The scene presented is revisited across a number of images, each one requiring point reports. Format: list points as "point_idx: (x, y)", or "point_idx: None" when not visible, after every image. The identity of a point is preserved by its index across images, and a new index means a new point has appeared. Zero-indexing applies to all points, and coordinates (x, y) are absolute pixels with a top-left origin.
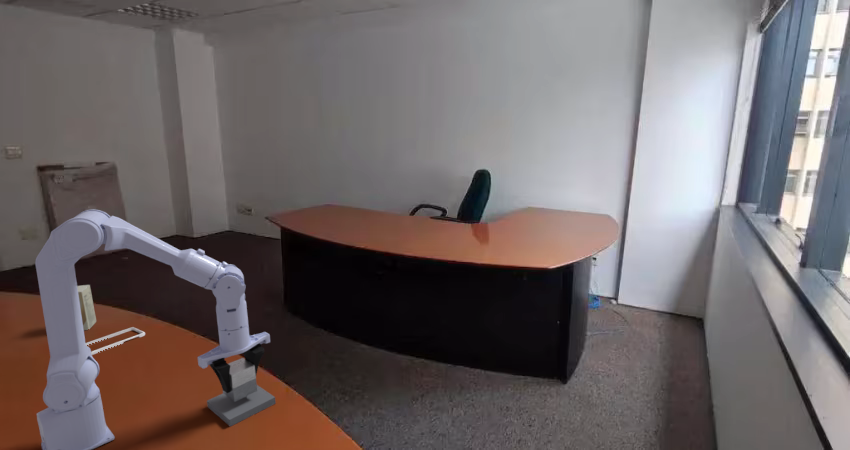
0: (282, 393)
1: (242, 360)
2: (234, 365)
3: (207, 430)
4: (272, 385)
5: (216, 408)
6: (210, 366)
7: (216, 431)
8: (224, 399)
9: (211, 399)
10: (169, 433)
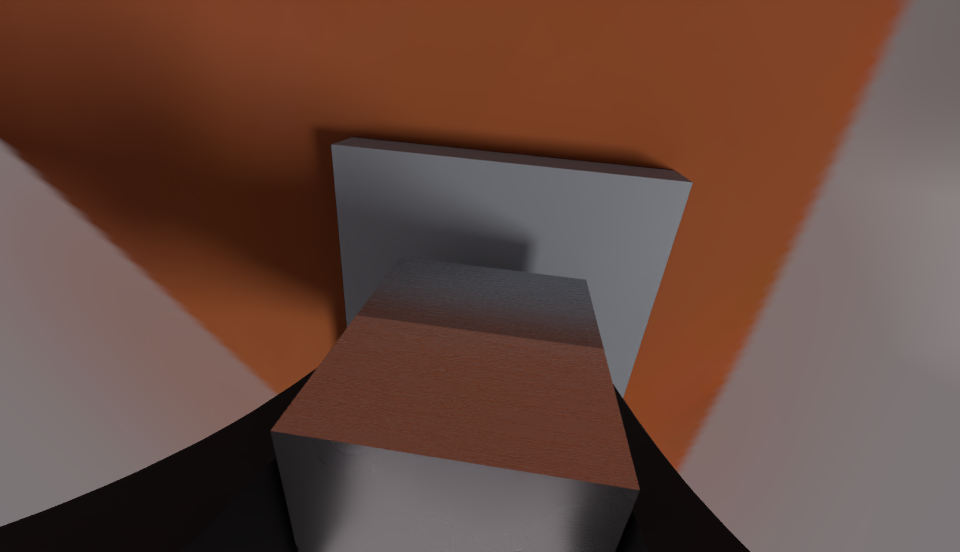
0: (695, 382)
1: (575, 529)
2: (428, 532)
3: (284, 322)
4: (749, 276)
5: (344, 277)
6: (58, 507)
7: (312, 357)
8: (419, 237)
9: (360, 158)
10: (130, 194)
